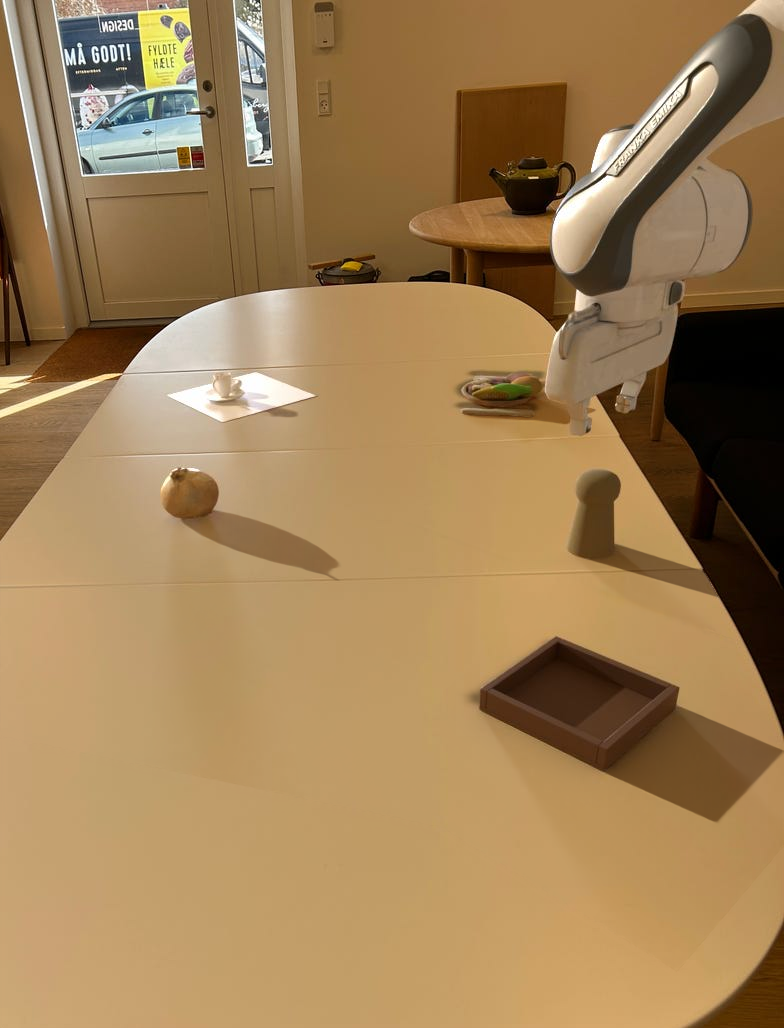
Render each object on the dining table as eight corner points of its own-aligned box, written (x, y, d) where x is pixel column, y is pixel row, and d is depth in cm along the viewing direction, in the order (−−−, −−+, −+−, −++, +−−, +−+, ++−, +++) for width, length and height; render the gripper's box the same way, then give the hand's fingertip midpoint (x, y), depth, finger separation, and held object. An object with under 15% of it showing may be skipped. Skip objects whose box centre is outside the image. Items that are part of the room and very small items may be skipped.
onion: (179, 499, 139) (173, 452, 135) (229, 505, 137) (225, 457, 133) (153, 522, 133) (146, 474, 129) (206, 529, 130) (200, 480, 126)
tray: (675, 708, 92) (679, 687, 90) (603, 771, 85) (606, 749, 83) (553, 656, 100) (555, 635, 99) (478, 709, 93) (480, 688, 92)
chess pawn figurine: (553, 558, 118) (562, 474, 112) (580, 541, 122) (590, 459, 116) (598, 573, 114) (609, 487, 109) (624, 555, 118) (636, 471, 112)
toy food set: (467, 378, 179) (468, 356, 177) (543, 379, 176) (545, 357, 174) (455, 414, 163) (456, 391, 161) (539, 417, 160) (541, 393, 158)
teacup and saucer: (234, 385, 182) (232, 364, 180) (257, 395, 177) (255, 373, 175) (194, 396, 178) (191, 374, 176) (216, 406, 173) (214, 384, 171)
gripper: (591, 320, 93) (575, 455, 101) (694, 281, 105) (673, 404, 113) (536, 310, 97) (525, 441, 105) (641, 274, 109) (624, 393, 116)
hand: (602, 422), depth 109 cm, fingers open, 8 cm apart
